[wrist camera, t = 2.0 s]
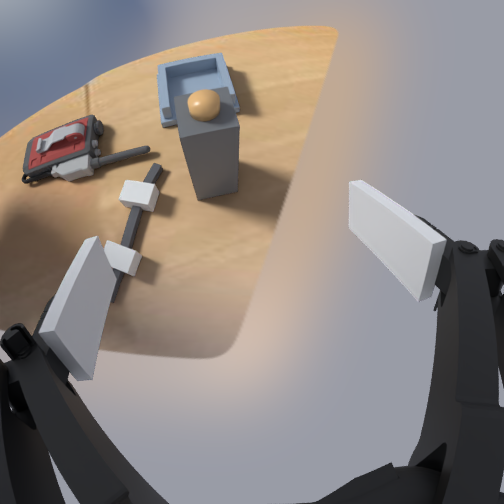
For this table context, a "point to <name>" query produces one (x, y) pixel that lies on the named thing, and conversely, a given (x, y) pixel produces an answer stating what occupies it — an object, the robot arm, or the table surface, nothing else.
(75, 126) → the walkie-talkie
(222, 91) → the grey post with ball
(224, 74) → the tray
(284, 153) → the table surface
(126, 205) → the cable run
